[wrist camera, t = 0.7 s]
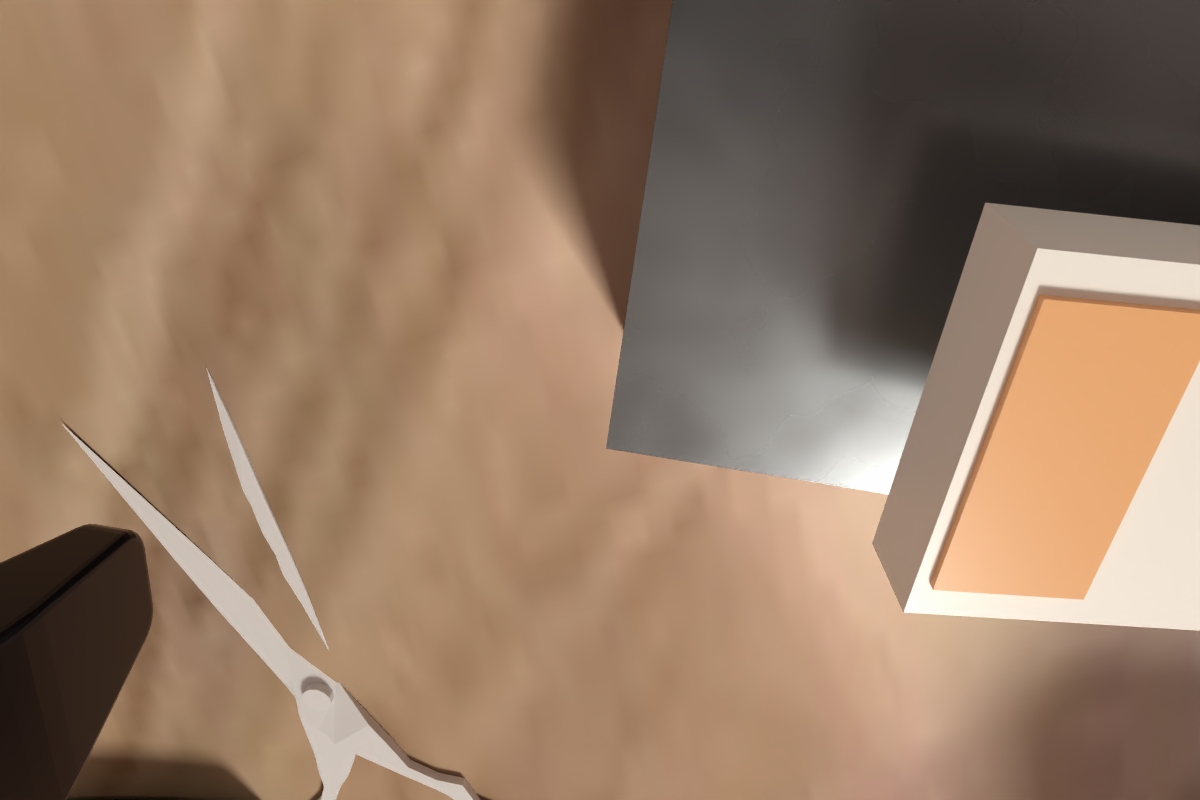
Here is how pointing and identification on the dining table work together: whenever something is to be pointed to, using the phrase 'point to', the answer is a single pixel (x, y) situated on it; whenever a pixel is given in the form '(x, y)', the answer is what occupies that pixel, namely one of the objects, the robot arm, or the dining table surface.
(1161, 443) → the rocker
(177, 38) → the dining table surface
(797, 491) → the dining table surface
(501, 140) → the dining table surface
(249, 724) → the dining table surface
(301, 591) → the scissors
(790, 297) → the breaker box
